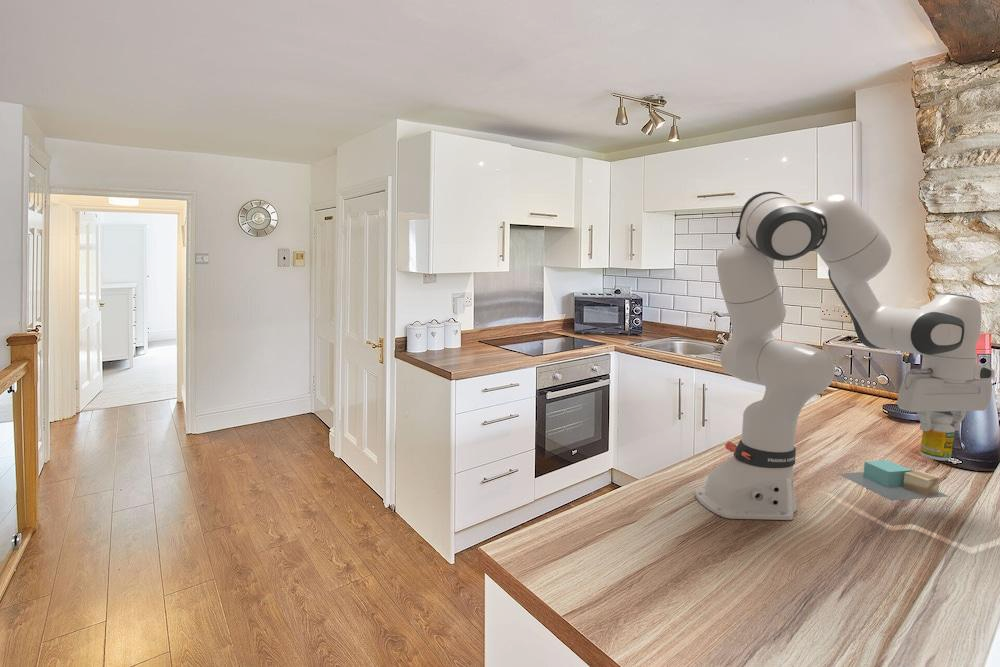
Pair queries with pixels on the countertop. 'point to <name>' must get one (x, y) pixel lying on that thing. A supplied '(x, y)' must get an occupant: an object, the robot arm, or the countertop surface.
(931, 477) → the brick
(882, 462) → the base brick
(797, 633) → the countertop surface
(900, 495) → the plate
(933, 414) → the supplement bottle
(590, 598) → the countertop surface
